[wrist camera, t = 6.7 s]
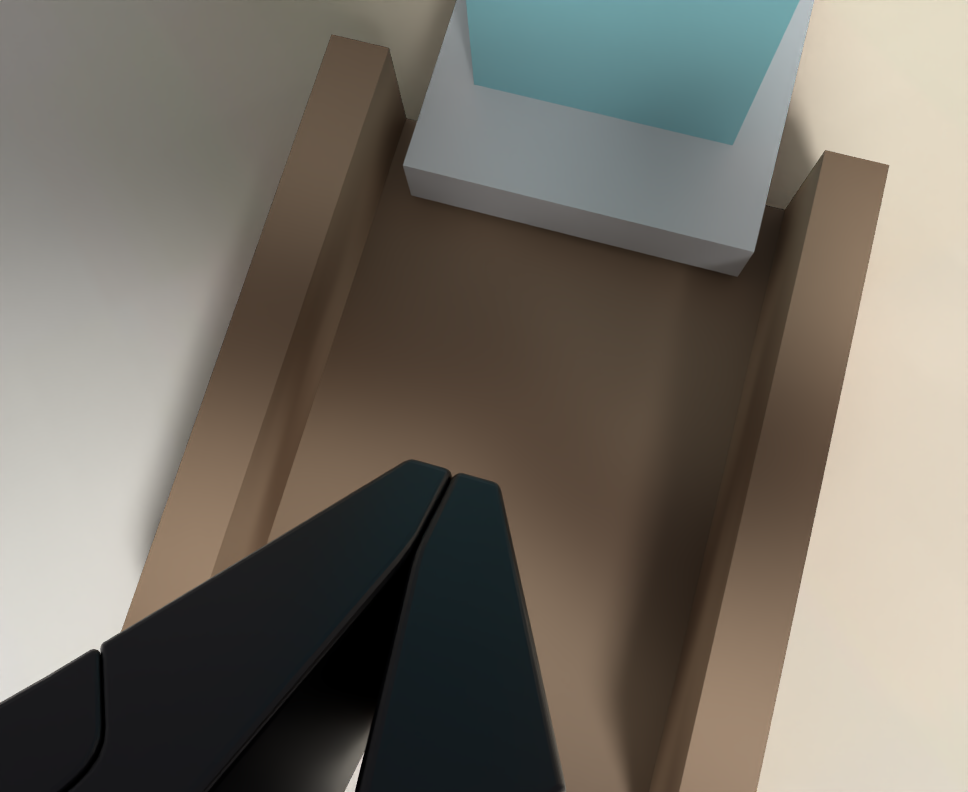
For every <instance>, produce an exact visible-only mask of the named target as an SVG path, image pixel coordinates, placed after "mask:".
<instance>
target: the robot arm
mask: <svg viewBox="0 0 968 792" xmlns="http://www.w3.org/2000/svg"><path fill="white" fill-rule="evenodd" d="M100 652H101V655H100ZM100 652H99V651H98V650H96V649H92V650H90V651H88V652H86V653H85V654H83V655H81V656H80V657H78V658H76V659H75V660H73V661H71V662H70V663H68V664H66V665H65V666H63V667H61V668H60V669H58V670H56V671H55V672H53V673H51V674H50V675H48V676H46V677H45V678H43V679H41V680H39V681H38V682H36V683H34V684H32V685H31V686H29V687H27V688H25V689H23V690H22V691H20V692H18V693H16V694H15V695H13V696H11V697H9V698H8V699H6V700H4V701H2V702H1V703H0V792H344V791H345V789H346V787H347V785H348V783H349V781H350V779H351V777H352V775H353V773H354V771H355V769H356V767H357V765H358V763H359V761H360V759H361V757H362V755H363V753H364V756H363V760H362V764H361V768H360V773H359V777H358V781H357V785H356V789H355V792H566V785H565V780H564V775H563V771H562V766H561V762H560V757H559V753H558V748H557V743H556V739H555V734H554V730H553V725H552V721H551V716H550V711H549V707H548V702H547V698H546V693H545V688H544V684H543V679H542V675H541V670H540V666H539V661H538V656H537V652H536V647H535V643H534V638H533V633H532V629H531V624H530V620H529V615H528V611H527V606H526V601H525V597H524V592H523V588H522V583H521V579H520V574H519V569H518V565H517V560H516V556H515V551H514V546H513V542H512V537H511V533H510V528H509V524H508V519H507V514H506V510H505V505H504V501H503V496H502V492H501V489H500V487H499V485H498V484H497V483H495V482H493V481H489V480H486V479H482V478H479V477H475V476H472V475H468V474H464V473H458V474H456V475H454V476H453V477H452V474H451V472H450V471H449V470H448V469H446V468H443V467H439V466H436V465H432V464H429V463H425V462H422V461H418V460H413V459H410V460H406V461H404V462H402V463H401V464H399V465H397V466H396V467H394V468H392V469H391V470H389V471H387V472H386V473H384V474H382V475H381V476H379V477H377V478H376V479H374V480H372V481H371V482H369V483H367V484H366V485H364V486H362V487H361V488H359V489H357V490H356V491H354V492H352V493H351V494H349V495H347V496H346V497H344V498H342V499H341V500H339V501H338V502H336V503H334V504H333V505H331V506H329V507H328V508H326V509H324V510H323V511H321V512H319V513H318V514H316V515H314V516H313V517H311V518H309V519H308V520H306V521H304V522H303V523H301V524H299V525H298V526H296V527H294V528H293V529H291V530H289V531H288V532H286V533H284V534H283V535H281V536H279V537H278V538H276V539H274V540H273V541H271V542H269V543H268V544H266V545H265V546H263V547H261V548H260V549H258V550H256V551H255V552H253V553H251V554H250V555H248V556H246V557H245V558H243V559H241V560H240V561H238V562H236V563H235V564H233V565H231V566H230V567H228V568H226V569H225V570H223V571H221V572H220V573H218V574H216V575H215V576H213V577H211V578H210V579H208V580H206V581H205V582H203V583H201V584H200V585H198V586H197V587H195V588H193V589H192V590H190V591H188V592H187V593H185V594H183V595H182V596H180V597H178V598H177V599H175V600H173V601H172V602H170V603H168V604H167V605H165V606H163V607H162V608H160V609H158V610H157V611H155V612H153V613H152V614H150V615H148V616H147V617H145V618H143V619H142V620H140V621H138V622H137V623H135V624H133V625H132V626H130V627H128V628H127V629H125V630H124V631H122V632H120V633H119V634H117V635H115V636H114V637H112V638H110V639H109V640H107V641H105V642H104V643H103V644H102V645H101V648H100ZM364 751H365V752H364Z"/></svg>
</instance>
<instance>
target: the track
mask: <svg viewBox="0 0 968 792" xmlns="http://www.w3.org/2000/svg"><path fill="white" fill-rule="evenodd" d="M416 123H417V121H415V120H410V119H406V115H405V111H404V107H403V103H402V99H401V95H400V91H399V87H398V83H397V79H396V75H395V71H394V66H393V62H392V58H391V54H390V50H389V48H387V47H383V46H378V45H374V44H370V43H366V42H361V41H357V40H353V39H348V38H344V37H340V36H336V35H331V37H330V40H329V43H328V46H327V49H326V52H325V55H324V57H323V60H322V63H321V66H320V69H319V72H318V74H317V77H316V80H315V83H314V86H313V89H312V91H311V94H310V97H309V100H308V103H307V106H306V108H305V111H304V114H303V117H302V120H301V123H300V125H299V128H298V131H297V134H296V137H295V140H294V142H293V145H292V148H291V151H290V154H289V157H288V160H287V162H286V165H285V168H284V171H283V174H282V177H281V179H280V182H279V185H278V188H277V191H276V194H275V196H274V199H273V202H272V205H271V208H270V211H269V213H268V216H267V219H266V222H265V225H264V228H263V230H262V233H261V236H260V239H259V242H258V245H257V247H256V250H255V253H254V256H253V259H252V262H251V265H250V267H249V270H248V273H247V276H246V279H245V282H244V284H243V287H242V290H241V293H240V296H239V299H238V301H237V304H236V307H235V310H234V313H233V316H232V318H231V321H230V324H229V327H228V330H227V333H226V335H225V338H224V341H223V344H222V347H221V350H220V352H219V355H218V358H217V361H216V364H215V367H214V369H213V372H212V375H211V378H210V381H209V384H208V387H207V389H206V392H205V395H204V398H203V401H202V404H201V406H200V409H199V412H198V415H197V418H196V421H195V423H194V426H193V429H192V432H191V435H190V438H189V440H188V443H187V446H186V449H185V452H184V455H183V457H182V460H181V463H180V466H179V469H178V472H177V474H176V477H175V480H174V483H173V486H172V489H171V492H170V494H169V497H168V500H167V503H166V506H165V509H164V511H163V514H162V517H161V520H160V523H159V526H158V528H157V531H156V534H155V537H154V540H153V543H152V545H151V548H150V551H149V554H148V557H147V560H146V562H145V565H144V568H143V571H142V574H141V577H140V579H139V582H138V585H137V588H136V591H135V594H134V597H133V599H132V602H131V605H130V608H129V611H128V614H127V616H126V619H125V622H124V625H123V628H122V631H124V630H125V629H127V628H128V627H130V626H132V625H133V624H135V623H137V622H138V621H140V620H142V619H143V618H145V617H147V616H148V615H150V614H152V613H153V612H155V611H157V610H158V609H160V608H162V607H163V606H165V605H167V604H168V603H170V602H172V601H173V600H175V599H177V598H178V597H180V596H182V595H183V594H185V593H187V592H188V591H190V590H192V589H193V588H195V587H197V586H198V585H200V584H201V583H203V582H205V581H206V580H208V579H210V578H211V577H213V576H215V575H216V574H218V573H220V572H221V571H223V570H225V569H226V568H228V567H230V566H231V565H233V564H235V563H236V562H238V561H240V560H241V559H243V558H245V557H246V556H248V555H250V554H251V553H253V552H255V551H256V550H258V549H260V548H261V547H263V546H265V545H266V544H268V543H269V542H271V541H273V540H274V539H276V538H278V537H279V536H281V535H283V534H284V533H286V532H288V531H289V530H291V529H293V528H294V527H296V526H298V525H299V524H301V523H303V522H304V521H306V520H308V519H309V518H311V517H313V516H314V515H316V514H318V513H319V512H321V511H323V510H324V509H326V508H328V507H329V506H331V505H333V504H334V503H336V502H338V501H339V500H341V499H342V498H344V497H346V496H347V495H349V494H351V493H352V492H354V491H356V490H357V489H359V488H361V487H362V486H364V485H366V484H367V483H369V482H371V481H372V480H374V479H376V478H377V477H379V476H381V475H382V474H384V473H386V472H387V471H389V470H391V469H392V468H394V467H396V466H397V465H399V464H401V463H402V462H404V461H406V460H410V459H413V460H418V461H422V462H425V463H429V464H432V465H436V466H439V467H443V468H446V469H448V470H449V471H450V472H451V474H452V477H453V476H454V475H456V474H458V473H464V474H468V475H472V476H475V477H479V478H482V479H486V480H489V481H493V482H495V483H497V484H498V485H499V487H500V489H501V492H502V496H503V501H504V505H505V510H506V514H507V519H508V524H509V528H510V533H511V537H512V542H513V546H514V551H515V556H516V560H517V565H518V569H519V574H520V579H521V583H522V588H523V592H524V597H525V601H526V606H527V611H528V615H529V620H530V624H531V629H532V633H533V638H534V643H535V647H536V652H537V656H538V661H539V666H540V670H541V675H542V679H543V684H544V688H545V693H546V698H547V702H548V707H549V711H550V716H551V721H552V725H553V730H554V734H555V739H556V743H557V748H558V753H559V757H560V762H561V766H562V771H563V775H564V780H565V785H566V792H756V791H757V786H758V781H759V777H760V772H761V767H762V763H763V758H764V753H765V748H766V744H767V739H768V734H769V730H770V725H771V720H772V715H773V711H774V706H775V701H776V697H777V692H778V687H779V682H780V678H781V673H782V668H783V664H784V659H785V654H786V649H787V645H788V640H789V635H790V631H791V626H792V621H793V616H794V612H795V607H796V602H797V598H798V593H799V588H800V583H801V579H802V574H803V569H804V565H805V560H806V555H807V550H808V546H809V541H810V536H811V532H812V527H813V522H814V517H815V513H816V508H817V503H818V499H819V494H820V489H821V484H822V480H823V475H824V470H825V466H826V461H827V456H828V451H829V447H830V442H831V437H832V433H833V428H834V423H835V418H836V414H837V409H838V404H839V400H840V395H841V390H842V385H843V381H844V376H845V371H846V367H847V362H848V357H849V352H850V348H851V343H852V338H853V334H854V329H855V324H856V319H857V315H858V310H859V305H860V301H861V296H862V291H863V286H864V282H865V277H866V272H867V268H868V263H869V258H870V253H871V249H872V244H873V239H874V235H875V230H876V225H877V220H878V216H879V211H880V206H881V202H882V197H883V192H884V187H885V183H886V178H887V173H888V169H889V165H886V164H882V163H877V162H873V161H869V160H865V159H860V158H856V157H852V156H848V155H843V154H839V153H835V152H830V151H826V150H825V151H824V153H823V154H822V156H821V157H820V159H819V160H818V162H817V163H816V165H815V166H814V168H813V169H812V171H811V172H810V174H809V175H808V177H807V178H806V180H805V181H804V182H803V184H802V185H801V187H800V188H799V190H798V191H797V193H796V194H795V196H794V197H793V199H792V200H791V202H790V203H789V205H788V206H787V208H786V209H785V210H783V209H779V208H774V207H770V206H766V205H765V209H764V213H763V217H762V221H761V225H760V230H759V234H758V238H757V242H756V246H755V251H754V253H753V254H752V256H751V257H750V259H749V260H748V262H747V263H746V265H745V266H744V268H743V269H742V271H741V272H740V274H739V275H738V277H736V276H732V275H728V274H724V273H720V272H716V271H712V270H708V269H704V268H700V267H696V266H692V265H688V264H684V263H680V262H676V261H672V260H668V259H664V258H660V257H656V256H652V255H648V254H644V253H640V252H636V251H632V250H628V249H624V248H620V247H616V246H612V245H608V244H604V243H600V242H596V241H592V240H588V239H584V238H580V237H576V236H572V235H568V234H564V233H560V232H556V231H552V230H548V229H544V228H540V227H536V226H532V225H528V224H524V223H520V222H516V221H512V220H508V219H504V218H500V217H496V216H492V215H488V214H484V213H480V212H476V211H472V210H468V209H464V208H460V207H456V206H452V205H448V204H444V203H440V202H436V201H432V200H428V199H424V198H420V197H416V196H412V195H411V193H410V189H409V185H408V182H407V178H406V175H405V171H404V167H403V163H404V160H405V157H406V154H407V151H408V148H409V145H410V142H411V139H412V136H413V133H414V130H415V126H416ZM122 631H121V632H122ZM364 752H365V751H364Z"/></svg>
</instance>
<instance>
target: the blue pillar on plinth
mask: <svg viewBox="0 0 968 792" xmlns="http://www.w3.org/2000/svg"><path fill="white" fill-rule="evenodd" d="M813 3H814V0H456V3H455V6H454V10H453V13H452V16H451V19H450V22H449V25H448V28H447V31H446V34H445V37H444V40H443V43H442V46H441V50H440V53H439V56H438V59H437V62H436V65H435V68H434V71H433V74H432V77H431V80H430V83H429V86H428V90H427V93H426V96H425V99H424V102H423V105H422V108H421V111H420V114H419V117H418V120H417V123H416V126H415V130H414V133H413V136H412V139H411V142H410V145H409V148H408V151H407V154H406V157H405V160H404V163H403V167H404V171H405V175H406V178H407V182H408V185H409V189H410V193H411V195H412V196H416V197H420V198H424V199H428V200H432V201H436V202H440V203H444V204H448V205H452V206H456V207H460V208H464V209H468V210H472V211H476V212H480V213H484V214H488V215H492V216H496V217H500V218H504V219H508V220H512V221H516V222H520V223H524V224H528V225H532V226H536V227H540V228H544V229H548V230H552V231H556V232H560V233H564V234H568V235H572V236H576V237H580V238H584V239H588V240H592V241H596V242H600V243H604V244H608V245H612V246H616V247H620V248H624V249H628V250H632V251H636V252H640V253H644V254H648V255H652V256H656V257H660V258H664V259H668V260H672V261H676V262H680V263H684V264H688V265H692V266H696V267H700V268H704V269H708V270H712V271H716V272H720V273H724V274H728V275H732V276H736V277H738V275H739V274H740V272H741V271H742V269H743V268H744V266H745V265H746V263H747V262H748V260H749V259H750V257H751V256H752V254H753V253H754V251H755V246H756V242H757V238H758V234H759V230H760V225H761V221H762V217H763V213H764V209H765V204H766V200H767V196H768V192H769V188H770V184H771V179H772V175H773V171H774V167H775V163H776V158H777V154H778V150H779V146H780V142H781V137H782V133H783V129H784V125H785V121H786V116H787V112H788V108H789V104H790V100H791V96H792V91H793V87H794V83H795V79H796V75H797V70H798V66H799V62H800V58H801V54H802V49H803V45H804V41H805V37H806V33H807V28H808V24H809V20H810V16H811V12H812V8H813Z"/></svg>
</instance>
